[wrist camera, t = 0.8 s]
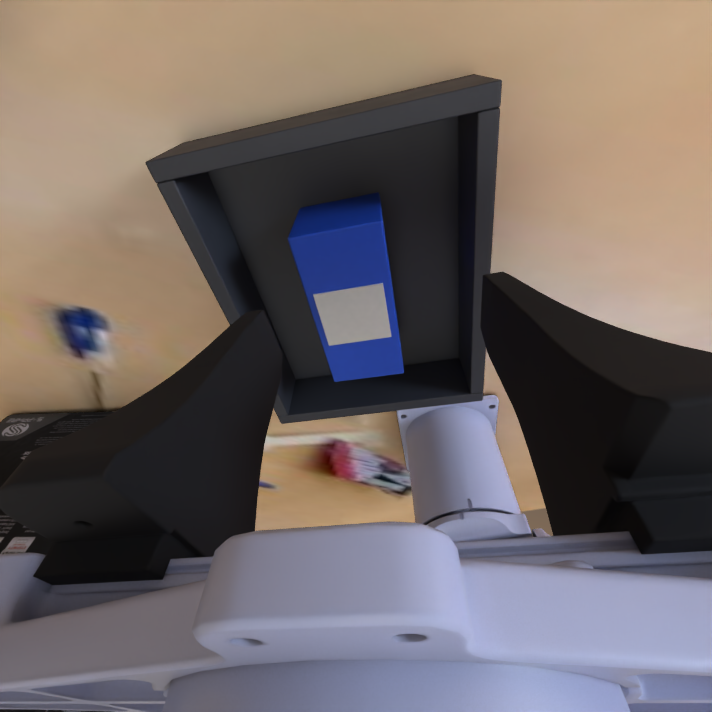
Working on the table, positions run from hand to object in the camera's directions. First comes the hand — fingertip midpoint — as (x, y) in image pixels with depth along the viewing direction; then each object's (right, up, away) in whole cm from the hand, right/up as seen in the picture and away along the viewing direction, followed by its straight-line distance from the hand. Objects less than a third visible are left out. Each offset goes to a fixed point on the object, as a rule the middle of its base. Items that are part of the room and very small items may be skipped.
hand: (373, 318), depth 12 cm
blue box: (-1, +3, +9) cm, 10 cm away
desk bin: (-1, +4, +9) cm, 10 cm away
